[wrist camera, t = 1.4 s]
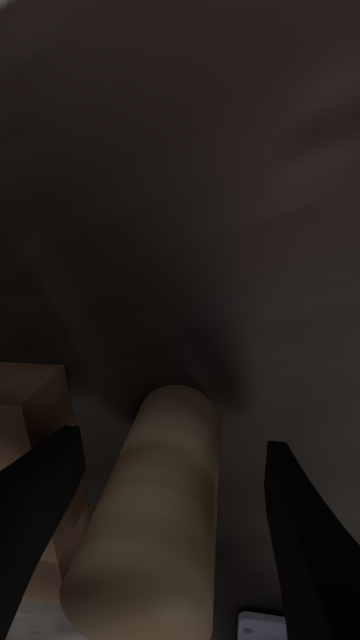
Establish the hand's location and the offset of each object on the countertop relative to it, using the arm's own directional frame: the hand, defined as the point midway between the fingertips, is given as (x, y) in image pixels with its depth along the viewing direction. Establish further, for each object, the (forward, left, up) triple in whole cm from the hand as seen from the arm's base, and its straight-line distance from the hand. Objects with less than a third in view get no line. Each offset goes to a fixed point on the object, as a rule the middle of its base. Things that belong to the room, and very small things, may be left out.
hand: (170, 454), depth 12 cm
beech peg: (0, 0, -2) cm, 2 cm away
